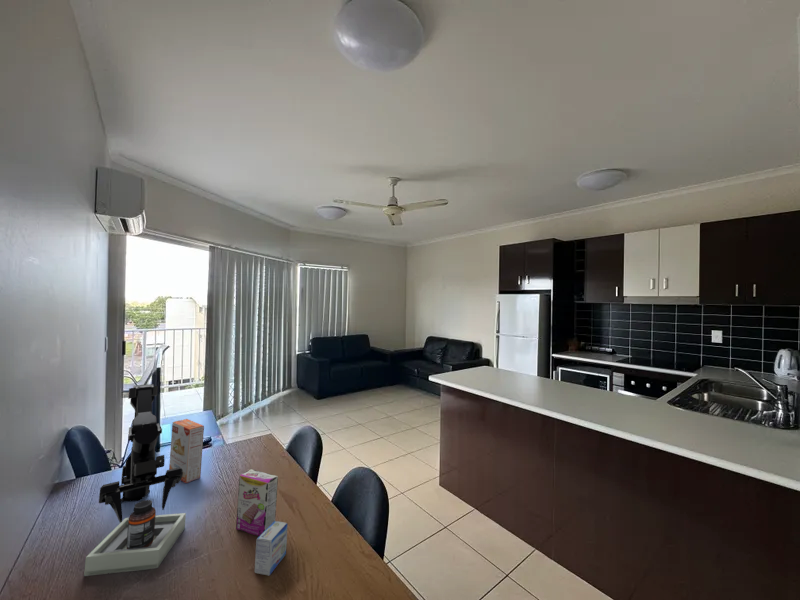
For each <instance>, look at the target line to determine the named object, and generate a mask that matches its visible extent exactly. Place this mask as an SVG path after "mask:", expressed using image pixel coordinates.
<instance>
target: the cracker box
mask: <svg viewBox="0 0 800 600" xmlns="http://www.w3.org/2000/svg"><path fill="white" fill-rule="evenodd" d="M171 426H172V429H171V438H170V439H171V440H170V452H169V464H168V465H169V466H168V470H169V469H174V468H178V467H181V468H182V470H183V476H182V478H181V481H180V482H183V483H184V484H188V483H191V482H193V481H195V480H198V479H200V478H201V475H202V474H201V473H202V459H203V446H204V444H203V443H204V434H205V433H204V431H205V430H204V429H205V426H204V425H203V424H200V423H198V422H195V421H194V420H191V419H188V418H185V419H181V420H176V421H173V422H172V425H171Z"/></svg>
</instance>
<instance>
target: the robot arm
mask: <svg viewBox="0 0 800 600" xmlns="http://www.w3.org/2000/svg"><path fill="white" fill-rule="evenodd" d="M132 386H133V387H131V388H128V399H129V400H130V402H129V404H130V406H131V407H132V408H133V410H134V417H133V419H132V421H131V426H130V427H128V437H127V440H128V441H130V442H131V443H132V444H131V445H132V447H131V449H130V451H131V452H130V454H129V456H127V458H126V459H125V465H122V470H121V478H120V479H121V480H118V481H114V482H110V483H105V484H102V485H101V487H100V488H99V495H98V504H104V505H105V506H107V505H110V507H111V508H112V509H113V511H114V513H115V514H116V517H117V519H118V521H119V523H121V522H122V521H123V509H122V508H123V507H122V503H124V502H125V503H126V502H127V503H128V502H140V501H143V500H144V498H145V497H146V496H147V495H148V494H149V493H150V492H151V490H150V486H153V485H157V484H161V483H164V485H163V489H162V490H163V491H162V499H161V510H162V511H163V510H165V507H166V505H167V504H166V503H167V500H168V497H169V493H170V491H171V489H172V488H174V487H176V485H177V484H179V483H181V482H182V481H181V478H182V476H183V470H182V468H181V467H178V468H174V469H169V468H168V469H166V471H165V473H164V474H163V475H159V476H156V475H157V474H158V469H159V468H163V467H164V466H165V461H166V460H165V454H162V455H161V454H160V455H157V456H156V452H155V451H156V448H155V447H156V445H157V443H158V437H159V436H160V435H161V434H163V428H162V426H161V425H160V423H159V422H158V423H157V420H158V419H157V416H156V415H154V414H153V402H154V400H155V397H157V396H158V385H154V383H151V384H150V383H149V384H139V385H137V384H136V385H132ZM120 481H121V484H120ZM121 494H122V495H121Z"/></svg>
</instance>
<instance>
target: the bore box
mask: <svg viewBox="0 0 800 600" xmlns="http://www.w3.org/2000/svg"><path fill="white" fill-rule="evenodd" d="M186 517H187V513H186V512H183V513H181V512H180V513H169V514H159V515H157V514H156V515H155V529H154V540H153V542H152V544H151V545H150V546H148V547H143V548H133V549H127V534H128V522H129V517H125V518H124V519H122V522H119V524H118V525H117V526H115V528H113V530H112V531H110V533H109V534H108V535H107V536H105V538H104V539H102V541H101V542H99V544H98V545H96V547H95V548H93V549H92V550H91V551H90V552H89V553H88V555H86V557H85V561H84V571H83V572H84V573H83V577H89V576H91V577H92V576H99V575H108V573H109V574H116V573H117V574H118V573H126V572H133V571H134V572H135V571H144V570H153V569H154V570H155V569H158V568H159V567H160V566H161V564H162V562H163V561H164V559H165V558H166V557H167V555H168V553H169V552H170V551H171V549H172V548H173V546H174V545H175V544H176V542H177V541H178V539H179V538H180V536H181V535H182V533H183V531H184V530H185V527H186Z"/></svg>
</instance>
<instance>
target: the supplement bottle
mask: <svg viewBox="0 0 800 600" xmlns="http://www.w3.org/2000/svg"><path fill="white" fill-rule="evenodd" d="M156 511H157V510H156V508H155V507H154V506H153V501H152V500H151V499H142V500H140V501H137V502H136V503H135V504H134V506H133V511H132V512H131V514H129V517H128V518H129V522H128V534H127V549H133V548H143V547H148V546H150V545H151V544H152V542H153V540H154V529H155V515H157V514H156V513H157V512H156Z"/></svg>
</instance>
